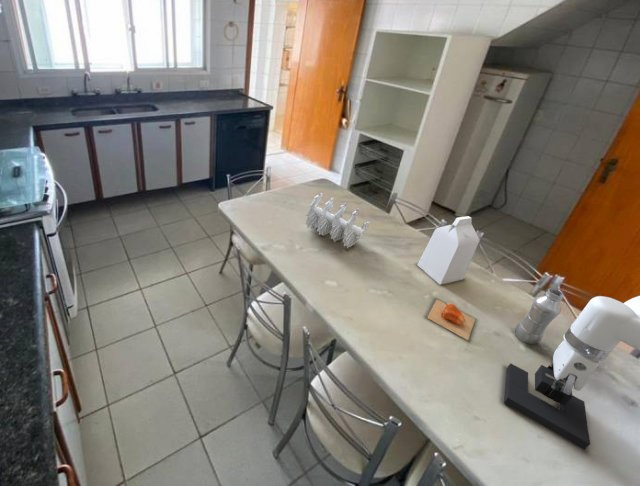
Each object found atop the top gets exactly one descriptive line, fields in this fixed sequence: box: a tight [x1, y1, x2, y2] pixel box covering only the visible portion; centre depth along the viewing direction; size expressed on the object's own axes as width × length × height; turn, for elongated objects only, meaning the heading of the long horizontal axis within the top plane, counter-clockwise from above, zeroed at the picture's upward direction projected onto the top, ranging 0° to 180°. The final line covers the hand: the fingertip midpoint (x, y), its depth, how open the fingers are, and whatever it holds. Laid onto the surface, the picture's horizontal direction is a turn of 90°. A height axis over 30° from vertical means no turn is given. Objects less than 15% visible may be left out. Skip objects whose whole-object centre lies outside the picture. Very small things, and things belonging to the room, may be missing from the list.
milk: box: [417, 215, 480, 286], centre depth 126 cm, size 12×12×26 cm
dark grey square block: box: [534, 364, 573, 405], centre depth 86 cm, size 6×6×4 cm
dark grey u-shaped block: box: [503, 362, 591, 450], centre depth 86 cm, size 16×13×2 cm
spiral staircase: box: [305, 192, 370, 249], centre depth 145 cm, size 18×18×25 cm
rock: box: [427, 299, 476, 341], centre depth 110 cm, size 12×12×4 cm
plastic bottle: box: [514, 287, 565, 345], centre depth 101 cm, size 6×7×20 cm
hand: (550, 387), depth 87 cm, fingers closed on dark grey square block, 6 cm apart
